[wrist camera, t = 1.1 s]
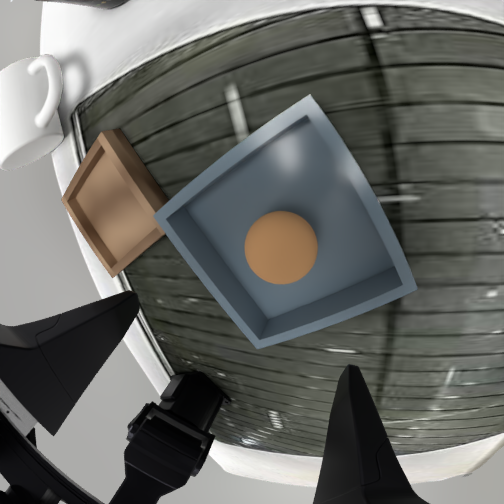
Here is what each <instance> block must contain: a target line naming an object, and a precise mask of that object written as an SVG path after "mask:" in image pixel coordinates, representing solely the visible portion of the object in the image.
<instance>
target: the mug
mask: <svg viewBox="0 0 504 504" xmlns="http://www.w3.org/2000/svg"><path fill="white" fill-rule="evenodd" d="M62 89H63V78H62V72H61V68H60V65H59V63H58V61H57V60H56V58H55V57H53V56H52V55H49V54H45V55H42V56H40V57H31V58H25V59H22V60H19V61H16V62H14V63H12V64H10V65H8V66H7V67H5V68H4V69H3V70H2V71H0V169H1V170H3V171H10V170H14V169H18V168H20V167H23V166H25V165H28V164H30V163H32V162H34V161H36V160H38V159H40V158H42V157H43V156H45V155H46V154H48V153H50V152H51V151H52V150H54V149H55V148H56V147H57V146H58V145H59V144H60V143H61V142H62V141H63V138H64V135H63V131H62V127H61V123H60V119H59V114H58V110H57V108H58V106H59V103H60V100H61V95H62Z"/></svg>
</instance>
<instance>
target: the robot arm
mask: <svg viewBox="0 0 504 504" xmlns="http://www.w3.org/2000/svg"><path fill="white" fill-rule="evenodd" d="M139 309H140V306H139V300H138V295H137V293H135V292H133V291H130V290H128V291H125V292H122V293H119V294H116V295H113V296H110V297H108V298H105V299H102V300H99V301H96V302H93V303H90V304H87V305H84V306H81V307H78V308H75V309H73V310H70V311H67V312H64V313H62V314H58V315H55V316H52V317H49V318H46V319H42V320H39V321H35V322H31V323H26V324H23V325H18V326H5V325H2V324H0V473H1V474H2V475H3V477H4V478H5V479H6V480H7V482H8V483H9V484H10V486H9V488H8V489H7V490H6V492H3V491H1V490H0V504H58V503H59V501H60V500H61V501H63V502H65V503H66V504H104V503H103V502H101V501H100V500H98V499H97V498H96V497H94V496H93V495H91V494H90V493H88V492H87V491H86V490H84V489H83V488H81V487H80V486H79V485H78V484H77V483H75V482H74V481H73V480H71V479H70V478H69V477H68V476H66V475H65V474H64V473H63V472H62V471H61V470H59V469H58V468H57V467H56V466H55V465H54V464H53V463H52V462H50V461H49V460H48V459H47V458H46V457H45V456H44V455H43V454H42V453H41V452H40V451H39V450H38V449H37V446H36V437H35V428H34V426H35V424H36V423H37V422H39V423H40V424H41V425H42V426H43V427H44V428H45V429H46V430H47V431H48V432H49V433H50V434H51V435H53V436H54V435H55V434H56V433H57V431H58V430H59V428H60V427H61V425H62V423H63V422H64V420H65V419H66V417H67V416H68V414H69V413H70V411H71V410H72V408H73V407H74V406H75V404H76V402H77V401H78V399H79V398H80V397H81V395H82V394H83V392H84V390H85V389H86V388H87V387H88V385H89V384H90V382H91V381H92V380H93V378H94V377H95V375H96V374H97V373H98V371H99V370H100V368H101V367H102V366H103V364H104V363H105V362H106V360H107V359H108V357H109V356H110V355H111V353H112V352H113V351H114V349H115V348H116V347H117V345H118V344H119V343H120V341H121V340H122V338H123V337H124V335H125V334H126V332H127V330H128V329H129V327H130V325H131V324H132V322H133V321H134V319H135V317H136V316H137V314H138V312H139ZM170 380H171V381H170V383H169V384H168V386H167V387H166V389H165V390H164V392H163V393H162V395H161V396H160V398H161V400H162V401H161V403H160V404H159V406H158V405H156V403H154V402H151V403H150V404H148V403H146V404H145V406H144V407H143V409H142V410H141V412H140V413H139V414H138V415H137V416H136V417H135V418H134V419H133V420H132V421H131V422H130V423H129V425H128V430H129V432H128V436H127V440H128V441H129V442H130V443H129V444H128V446H127V447H126V449H125V451H124V460H125V475H126V477H125V479H124V481H123V483H122V484H121V486H120V487H119V489H118V490H117V492H116V494H115V495H114V497H113V498H112V500H111V501H110V503H109V504H156V503H157V501H158V500H159V498H160V497H161V496H163V495H165V494H167V493H170V492H172V491H174V490H176V489H178V488H180V487H182V486H184V485H185V484H186V483H187V481H188V479H189V478H190V476H193V477H195V476H196V475H197V474H198V473H199V471H200V469H201V468H202V466H203V464H204V462H205V460H206V458H207V455H208V453H209V450H210V448H211V446H212V443H213V441H214V438H215V435H213V434H209V433H208V431H209V429H210V427H211V425H212V423H213V421H214V419H215V417H216V415H217V413H218V411H219V409H220V407H221V405H228V404H230V403H231V400H230V399H229V398H228V397H227V396H226V395H225V394H224V393H223V392H222V391H221V390H220V389H218V388H217V387H216V386H215V385H214V384H213V383H212V382H211V381H210V380H209V379H208V378H207V377H206V376H205V375H204V374H203V373H202V372H200V371H197V372H191V373H186V374H181V375H175V376H171V378H170ZM387 437H388V436H387V433H386V431H385V428H384V426H383V423H382V421H381V418H380V416H379V413H378V411H377V409H376V406H375V404H374V401H373V399H372V397H371V394H370V392H369V390H368V387H367V385H366V383H365V380H364V378H363V376H362V373H361V371H360V369H359V367H358V366H355V365H351V364H349V365H347V367H346V368H345V370H344V371H343V373H342V374H341V376H340V378H339V381H338V385H337V390H336V394H335V398H334V402H333V405H332V409H331V413H330V419H329V425H328V432H327V438H326V444H325V449H324V455H323V460H322V465H321V470H320V475H319V480H318V484H317V489H316V493H315V497H314V502H313V504H429V503H427V502H426V501H424V500H423V499H421V498H420V497H419V496H418V495H417V494H416V493H415V492H414V491H413V489H412V488H411V485H410V483H409V481H408V479H407V477H406V475H405V474H404V472H403V470H402V468H401V466H400V464H399V462H398V460H397V458H396V456H395V453H394V451H393V448H392V446H391V443H390V441H389V438H387Z"/></svg>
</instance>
